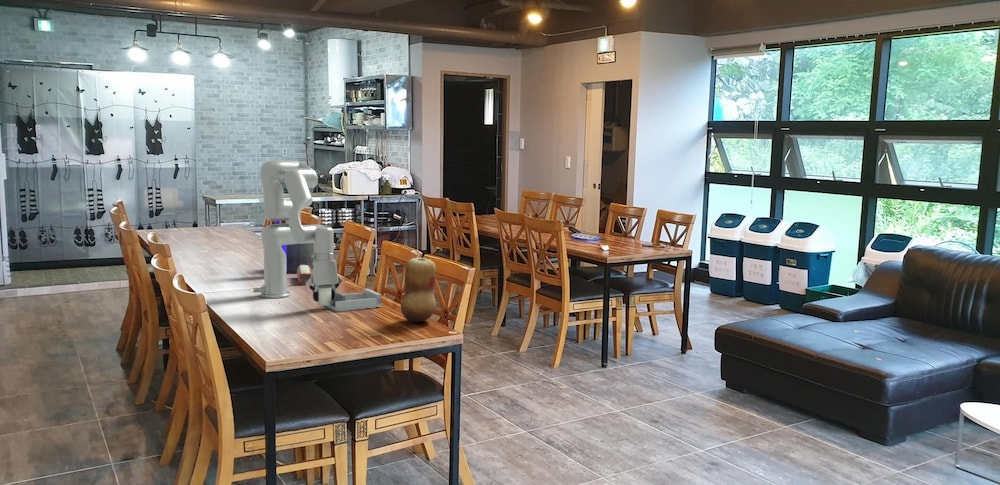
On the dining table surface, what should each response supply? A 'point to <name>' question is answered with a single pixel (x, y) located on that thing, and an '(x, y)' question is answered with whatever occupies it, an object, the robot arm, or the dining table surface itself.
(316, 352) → the dining table surface
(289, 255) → the planter
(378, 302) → the grey tray
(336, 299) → the pusher
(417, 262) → the butternut squash
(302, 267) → the snack package
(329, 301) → the jar
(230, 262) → the dining table surface
